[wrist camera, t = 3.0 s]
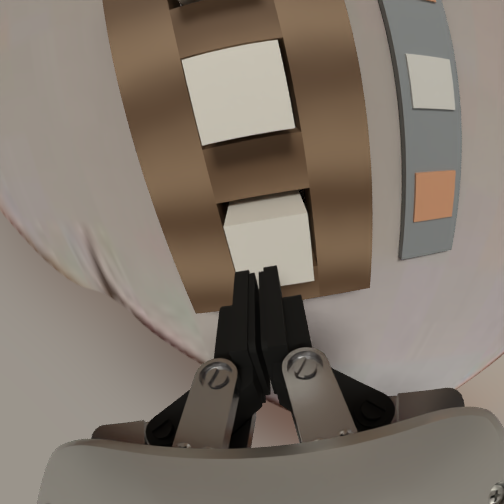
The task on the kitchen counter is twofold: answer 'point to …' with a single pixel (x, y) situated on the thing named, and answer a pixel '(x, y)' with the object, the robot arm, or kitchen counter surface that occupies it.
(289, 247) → the button
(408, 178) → the pattern card
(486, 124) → the kitchen counter surface
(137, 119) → the button board
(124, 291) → the kitchen counter surface
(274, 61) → the button middle
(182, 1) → the button
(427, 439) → the robot arm
